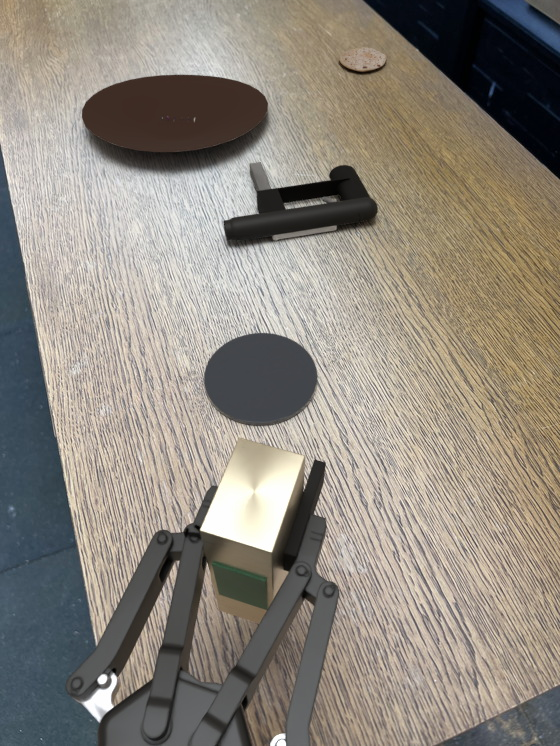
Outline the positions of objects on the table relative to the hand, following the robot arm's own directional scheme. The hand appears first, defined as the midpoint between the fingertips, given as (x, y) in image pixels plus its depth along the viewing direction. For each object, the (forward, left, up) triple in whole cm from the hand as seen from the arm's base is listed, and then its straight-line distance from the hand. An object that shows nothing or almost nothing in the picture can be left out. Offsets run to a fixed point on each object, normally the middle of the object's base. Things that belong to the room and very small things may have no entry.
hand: (284, 462), depth 43 cm
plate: (-63, +35, -18) cm, 75 cm away
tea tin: (+3, -5, -7) cm, 9 cm away
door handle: (-36, +34, -18) cm, 53 cm away
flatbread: (-56, +69, -18) cm, 91 cm away
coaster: (-17, +12, -18) cm, 27 cm away
